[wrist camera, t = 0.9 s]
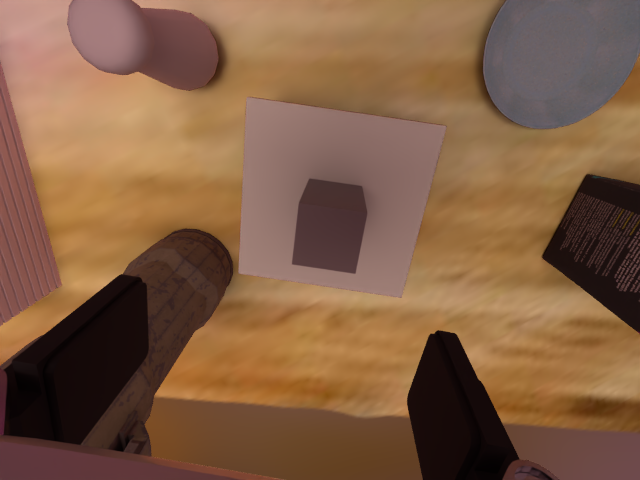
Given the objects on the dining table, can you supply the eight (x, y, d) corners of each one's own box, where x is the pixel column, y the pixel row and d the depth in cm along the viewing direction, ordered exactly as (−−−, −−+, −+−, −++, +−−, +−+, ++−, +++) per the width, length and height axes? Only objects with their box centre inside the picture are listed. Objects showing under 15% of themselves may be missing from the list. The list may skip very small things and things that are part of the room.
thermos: (249, 302, 40) (-134, 1132, 8) (150, 294, 41) (-587, 1048, 8) (246, 231, 37) (-442, 1182, 5) (138, 224, 37) (-1171, 1037, 5)
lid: (442, 125, 25) (481, 136, 18) (399, 290, 30) (416, 349, 23) (250, 97, 25) (214, 97, 18) (242, 267, 31) (211, 318, 23)
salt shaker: (211, 7, 29) (119, -55, 17) (236, 79, 31) (168, 69, 19) (150, 30, 30) (23, -14, 18) (178, 98, 32) (79, 100, 20)
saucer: (497, -41, 27) (510, -52, 25) (650, -25, 27) (677, -35, 25) (458, 119, 31) (466, 120, 29) (588, 133, 31) (606, 136, 29)
